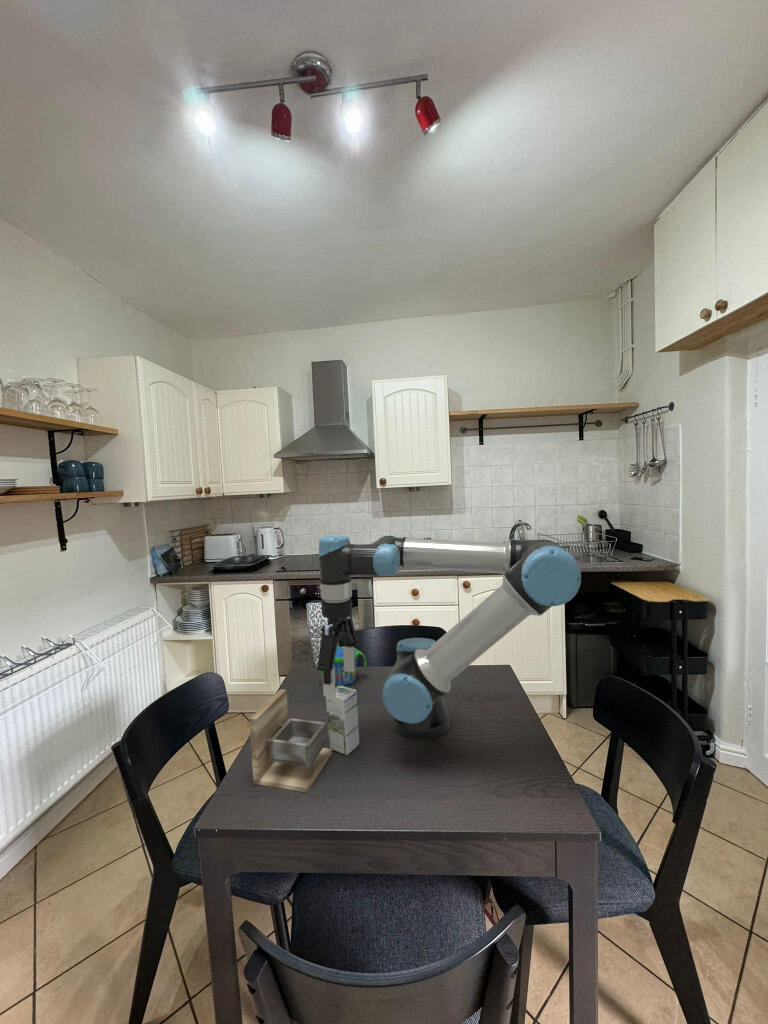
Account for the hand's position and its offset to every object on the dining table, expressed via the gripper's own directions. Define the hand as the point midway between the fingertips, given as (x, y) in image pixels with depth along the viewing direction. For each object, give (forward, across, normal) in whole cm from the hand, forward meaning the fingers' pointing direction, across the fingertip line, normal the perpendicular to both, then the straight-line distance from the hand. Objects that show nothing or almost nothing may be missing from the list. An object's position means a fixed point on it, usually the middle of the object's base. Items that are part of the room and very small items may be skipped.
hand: (340, 682), depth 108 cm
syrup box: (+17, 0, 0) cm, 17 cm away
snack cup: (+17, -34, -13) cm, 40 cm away
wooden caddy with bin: (+17, +10, -8) cm, 21 cm away
